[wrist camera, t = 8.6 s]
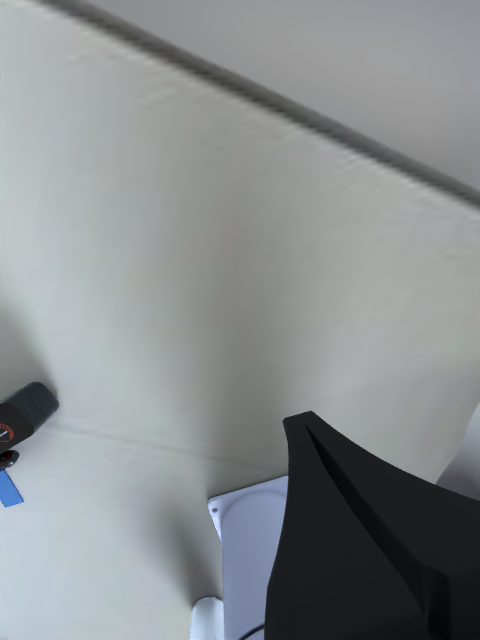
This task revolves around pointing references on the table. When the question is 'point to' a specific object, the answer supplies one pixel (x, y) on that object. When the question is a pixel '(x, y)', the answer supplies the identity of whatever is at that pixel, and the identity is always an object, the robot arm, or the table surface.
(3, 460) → the black rounded block
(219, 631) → the milkshake
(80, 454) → the table surface
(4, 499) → the tape line
